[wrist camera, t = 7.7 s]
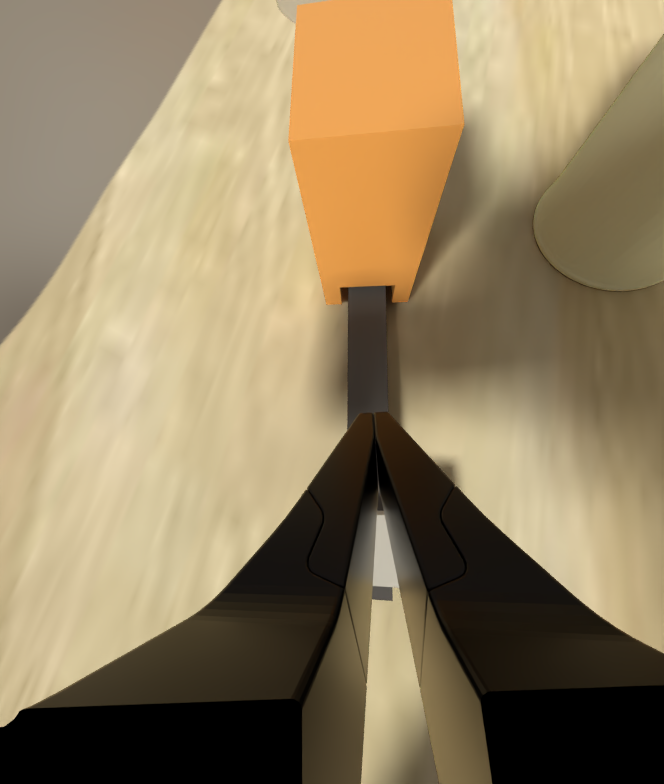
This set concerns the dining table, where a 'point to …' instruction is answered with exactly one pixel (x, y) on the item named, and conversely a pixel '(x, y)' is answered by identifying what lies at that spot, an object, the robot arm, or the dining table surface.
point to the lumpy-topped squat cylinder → (292, 7)
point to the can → (613, 193)
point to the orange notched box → (373, 134)
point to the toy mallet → (371, 402)
